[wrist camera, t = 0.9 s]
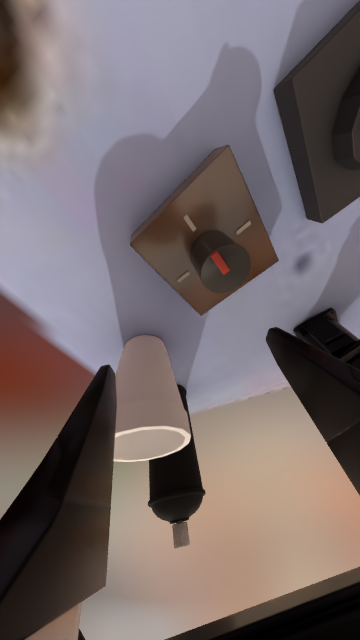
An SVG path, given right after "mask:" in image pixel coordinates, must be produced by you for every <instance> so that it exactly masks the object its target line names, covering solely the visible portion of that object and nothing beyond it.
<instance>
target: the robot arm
mask: <svg viewBox="0 0 360 640" xmlns="http://www.w3.org/2000/svg"><path fill="white" fill-rule="evenodd" d="M294 333H295V335H296V337H295V336H293V335H291V334H289V333H287V332H285V331H284V330H282V329H280V328H277V327H274V328H270V329H269V330H268V333H267V336H266V342H267V344H268V346H269V348H270V350H271V352H272V354H273V356H274V358H275V360H276V362H277V364H278V366H279V368H280V369H281V371H282V372H283V374H284V376H285V377H286V379H287V380H288V382H289V384H290V385H291V387H292V388H293V390H294V392H295V393H296V395H297V396H298V398H299V399H300V401H301V403H302V404H303V406H304V407H305V409H306V411H307V412H308V414H309V415H310V417H311V419H312V420H313V422H314V423H315V425H316V426H317V428H318V430H319V431H320V433H321V434H322V436H323V438H324V439H325V441H326V442H327V444H328V446H329V447H330V449H331V451H332V452H333V454H334V455H335V457H336V459H337V460H338V462H339V463H340V465H341V466H342V468H343V469H344V471H345V473H346V474H347V476H348V478H349V479H350V481H351V482H352V484H353V485H354V487H355V489H356V490H357V492H358V493H359V495H360V339H358V338H357V337H356V336H355V335H353V334H352V333H351V332H349V331H348V330H347V329H346V328H344V327H343V326H342V325H340V324H339V323H338V320H337V316H336V311H335V310H334V309H333V308H331V309H329V310H327V311H325V312H324V313H322V314H320V315H318V316H317V317H315V318H313V319H311V320H309V321H308V322H306V323H304V324H302V325H301V326H299V327H297V328H295V329H294ZM116 413H117V395H116V377H115V373H114V371H113V369H112V368H111V366H110V365H104V366H101V367H100V369H99V370H98V372H97V373H96V375H95V377H94V378H93V380H92V381H91V383H90V385H89V386H88V388H87V390H86V391H85V393H84V395H83V396H82V398H81V399H80V401H79V403H78V404H77V406H76V408H75V409H74V411H73V412H72V414H71V416H70V417H69V419H68V420H67V422H66V424H65V425H64V427H63V429H62V430H61V432H60V433H59V435H58V438H56V440H55V441H54V443H53V445H52V446H51V448H50V449H49V451H48V453H47V454H46V456H45V457H44V459H43V460H42V462H41V464H40V465H39V466H38V468H37V469H36V471H35V472H34V473H33V475H32V476H31V478H30V479H29V481H28V482H27V483H26V485H25V486H24V487H23V489H22V490H21V492H20V493H19V495H18V496H17V497H16V499H15V500H14V501H13V503H12V504H11V506H10V507H9V508H8V510H7V511H6V513H5V514H4V515H3V517H2V518H1V520H0V640H85V638H84V636H83V635H82V633H81V631H80V629H79V623H80V614H81V604H82V601H84V600H85V599H87V598H88V597H90V596H91V595H93V594H94V593H96V592H97V591H99V590H100V589H102V588H103V587H105V585H106V574H107V558H108V541H109V526H110V510H111V507H110V506H111V492H112V475H113V461H114V445H115V429H116ZM165 640H360V567H358V568H355V569H352V570H350V571H347V572H344V573H342V574H339V575H336V576H334V577H331V578H328V579H326V580H323V581H320V582H318V583H315V584H312V585H310V586H307V587H304V588H302V589H299V590H296V591H294V592H291V593H288V594H285V595H283V596H280V597H278V598H275V599H273V600H269V601H267V602H264V603H261V604H259V605H256V606H254V607H251V608H248V609H245V610H243V611H240V612H238V613H235V614H232V615H229V616H227V617H224V618H222V619H219V620H216V621H213V622H211V623H208V624H205V625H203V626H200V627H197V628H195V629H192V630H189V631H187V632H185V633H181V634H179V635H176V636H173V637H171V638H168V639H165Z"/></svg>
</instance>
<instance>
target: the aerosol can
mask: <svg viewBox="0 0 360 640" xmlns="http://www.w3.org/2000/svg"><path fill="white" fill-rule="evenodd" d="M177 387H178V390H179V394H180V397H181V400H182V404H183V407H184V410H185V411H186V412H187V416H188V421H189V427H190V433H191V438H190V442H189V443H188V444H187V445H186V446H185V447H183V448H182V449H181V450H179V451H176V452H174V453H171V454H169V455H167V456H163V457H159V458H155V459H150V460H149V478H150V479H149V481H150V500H149V502H148V506H149V507H151V508H152V510H153V512H154V513H155V515H156V516H157V517H159V518H160V519H162V520H165V521H168V522H170V523H171V524H173V523H177V524H174V525H173V526H172V527H173V539H174V548H179V547H183V546H187V545H189V535H188V527H187V522H183V521H186V520H188V519H189V517H190V516H191V515H192V514H194V513H195V512H196V510H198V508H199V507H200V504H201V502H202V498H203V496H204V495H205V490H204V489H203V487H202V482H201V476H200V471H199V466H198V460H197V454H196V449H195V444H194V439H193V433H192V427H191V422H190V416H189V411H188V405H187V400H186V390H185V388H183V387H182V386H180V385H177Z"/></svg>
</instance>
